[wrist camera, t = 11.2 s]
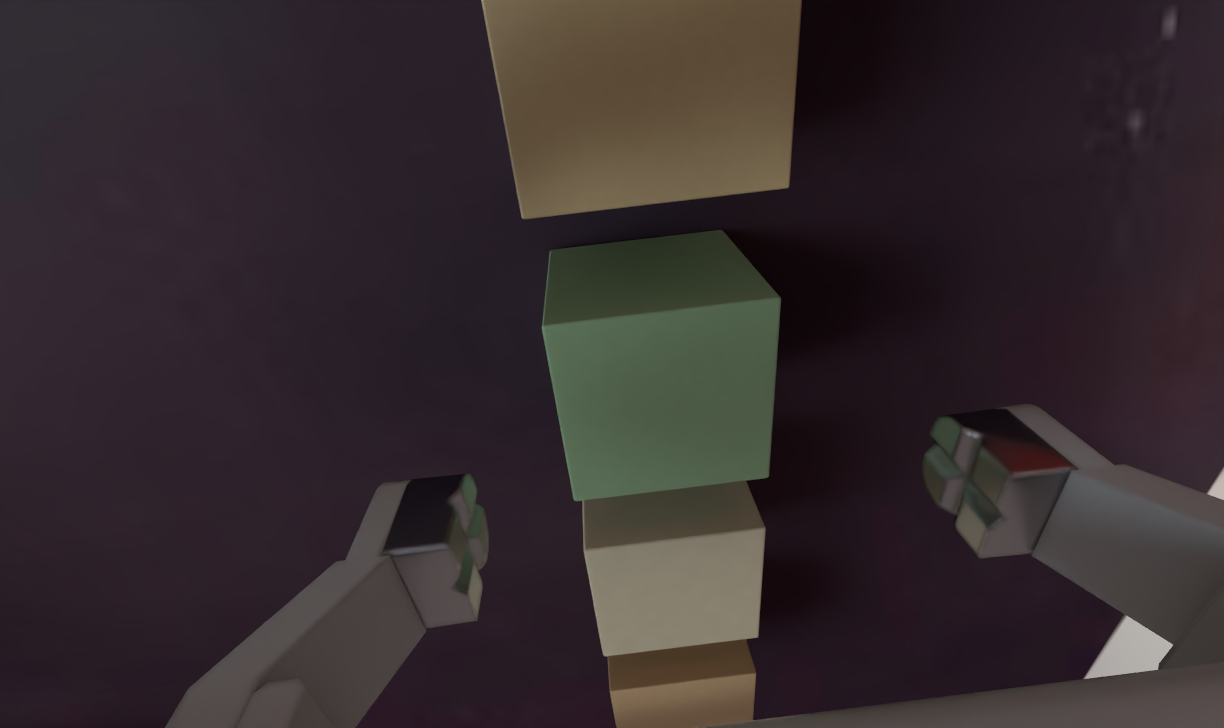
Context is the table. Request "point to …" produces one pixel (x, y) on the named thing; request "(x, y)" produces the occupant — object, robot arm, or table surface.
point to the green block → (661, 363)
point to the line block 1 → (644, 99)
